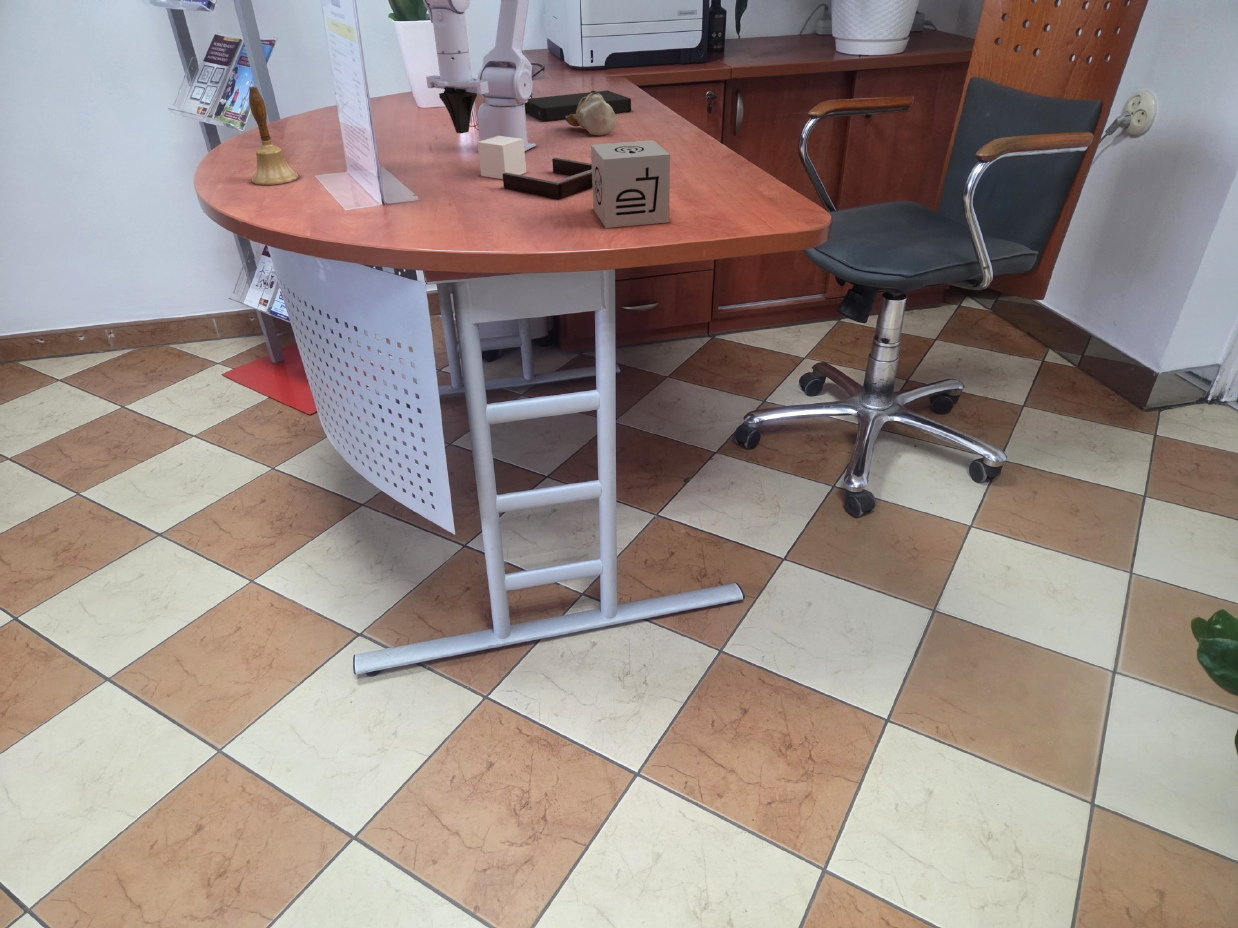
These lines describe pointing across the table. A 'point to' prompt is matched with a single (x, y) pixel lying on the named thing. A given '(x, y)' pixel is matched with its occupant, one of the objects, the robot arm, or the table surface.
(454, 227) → the table surface
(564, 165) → the frame
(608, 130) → the ceramic sculpture
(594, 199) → the icon cube
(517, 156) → the white cube
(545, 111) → the external hard drive
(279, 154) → the hand bell
